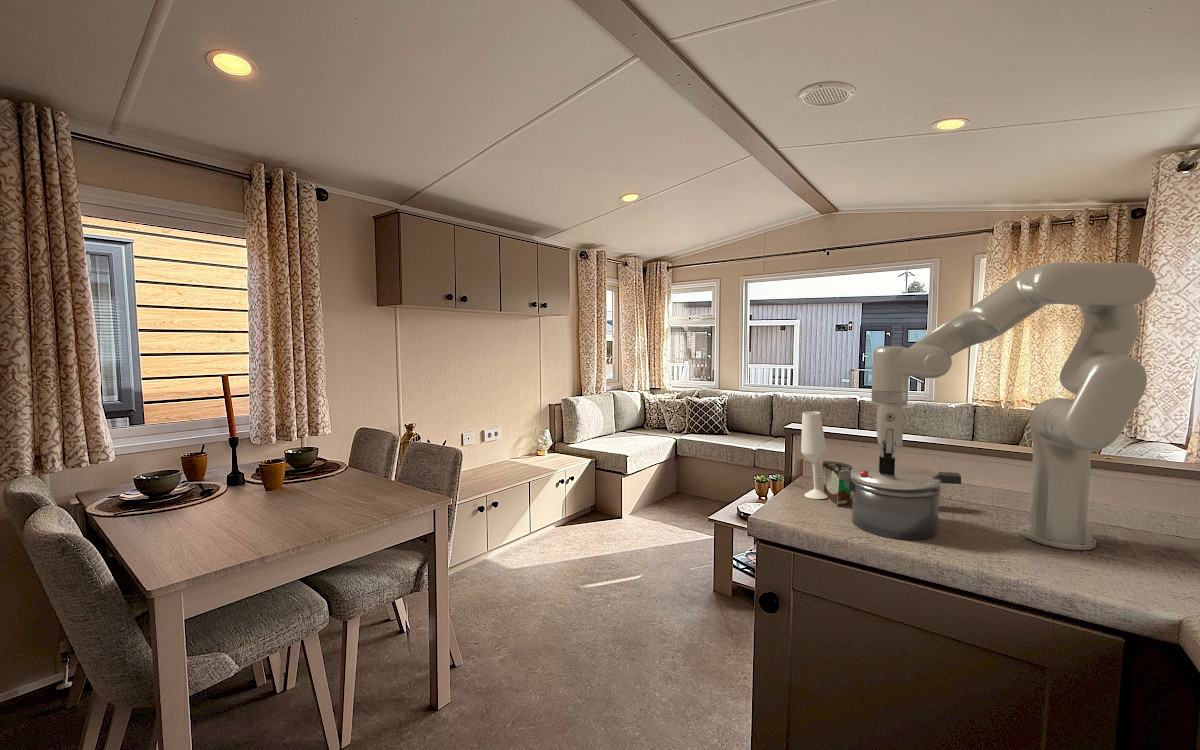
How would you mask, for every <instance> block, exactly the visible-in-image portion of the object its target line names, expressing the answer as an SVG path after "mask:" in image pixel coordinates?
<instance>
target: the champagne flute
mask: <svg viewBox="0 0 1200 750" xmlns="http://www.w3.org/2000/svg"><path fill="white" fill-rule="evenodd" d="M801 417H802V418H801V444H800V448H801V449H800V451H801V453H802V455H803V456H804V457H805V459H807V460H808V461H809V462H812V463H811V464H812V475H813V476H812V477H813V489H811V490H809V491H808V492H805V493H804V497H806V498H809V499H813V500H823V499H827V498H828V497H827V495H826V493H825V492H824V491H823V490H822V489H820V487H819V475H818V473H819V472H818V462H820V461H821V460H822V459H823V458H824V457H825V456H826V454H827V451H828V449H827V444H826V439H825V433H824V427H823V422H822V415H821V412H820V411H811V410H810V411H804V412H802V414H801Z"/></svg>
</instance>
